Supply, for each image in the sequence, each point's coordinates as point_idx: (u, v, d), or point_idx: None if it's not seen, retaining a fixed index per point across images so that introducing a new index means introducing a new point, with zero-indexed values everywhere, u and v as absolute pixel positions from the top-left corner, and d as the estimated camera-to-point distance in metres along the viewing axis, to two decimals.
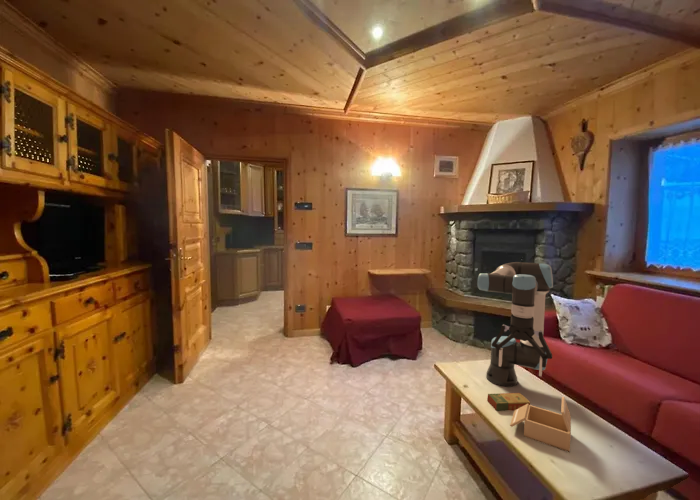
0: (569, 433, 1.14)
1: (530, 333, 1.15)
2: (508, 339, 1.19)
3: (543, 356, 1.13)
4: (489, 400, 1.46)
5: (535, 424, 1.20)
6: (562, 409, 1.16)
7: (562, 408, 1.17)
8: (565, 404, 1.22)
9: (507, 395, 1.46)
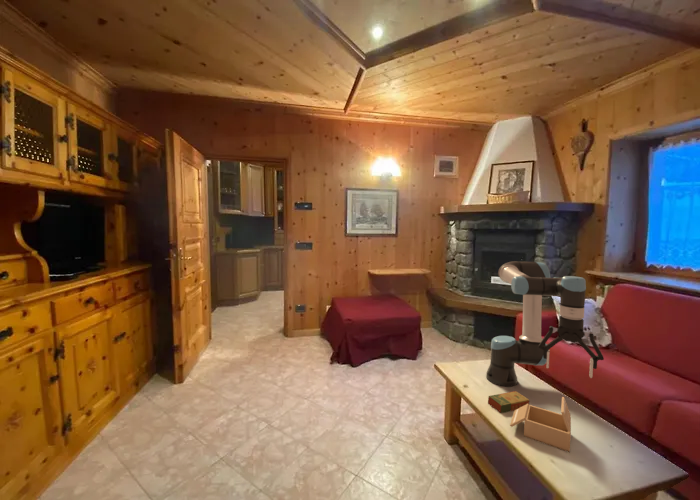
0: (569, 433, 1.14)
1: (580, 335, 1.16)
2: (557, 341, 1.20)
3: (594, 357, 1.14)
4: (491, 402, 1.44)
5: (535, 424, 1.20)
6: (562, 409, 1.16)
7: (562, 408, 1.17)
8: (565, 404, 1.22)
9: (506, 395, 1.46)
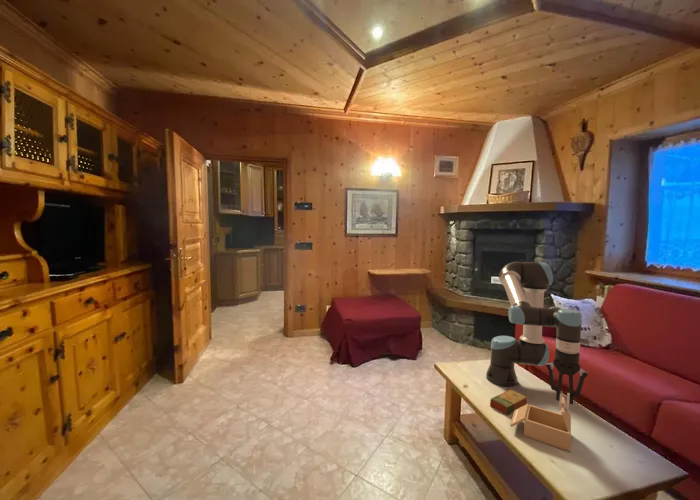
0: (569, 433, 1.14)
1: (575, 368, 1.16)
2: (560, 378, 1.19)
3: (571, 393, 1.17)
4: (494, 405, 1.42)
5: (535, 424, 1.20)
6: (562, 409, 1.16)
7: (562, 408, 1.17)
8: (565, 404, 1.22)
9: (505, 395, 1.46)
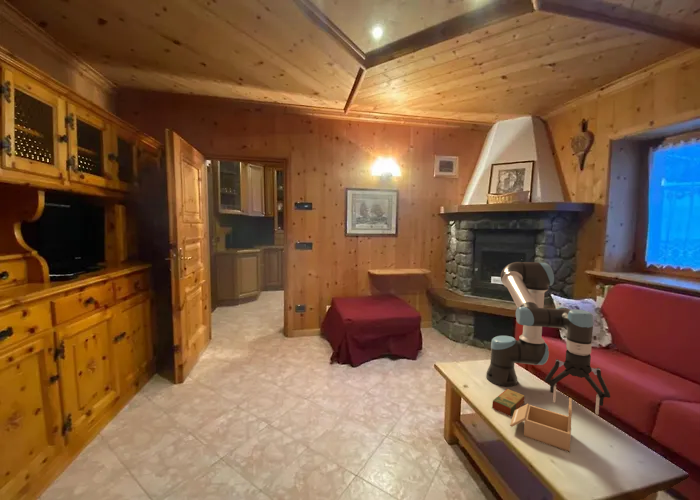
0: (569, 433, 1.14)
1: (587, 370, 1.14)
2: (563, 375, 1.18)
3: (601, 394, 1.12)
4: (496, 407, 1.40)
5: (535, 424, 1.20)
6: (570, 410, 1.15)
7: (570, 409, 1.16)
8: None
9: (505, 395, 1.45)
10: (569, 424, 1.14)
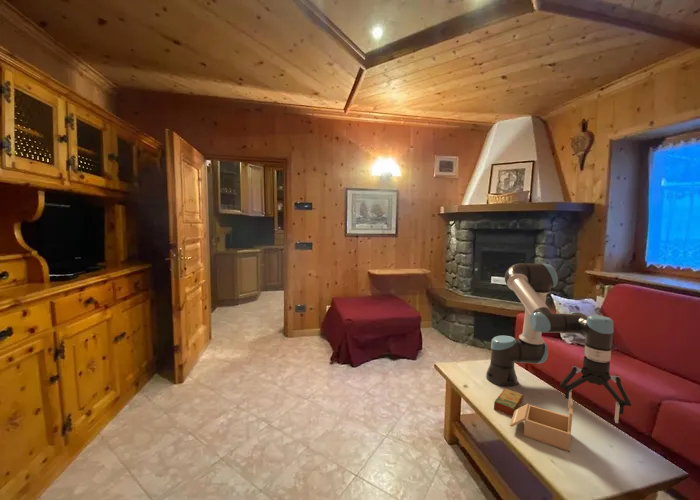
0: (569, 433, 1.14)
1: (606, 378, 1.11)
2: (580, 382, 1.15)
3: (621, 402, 1.09)
4: (498, 408, 1.39)
5: (535, 424, 1.20)
6: (571, 410, 1.15)
7: (571, 409, 1.16)
8: None
9: (505, 395, 1.45)
10: (569, 424, 1.14)
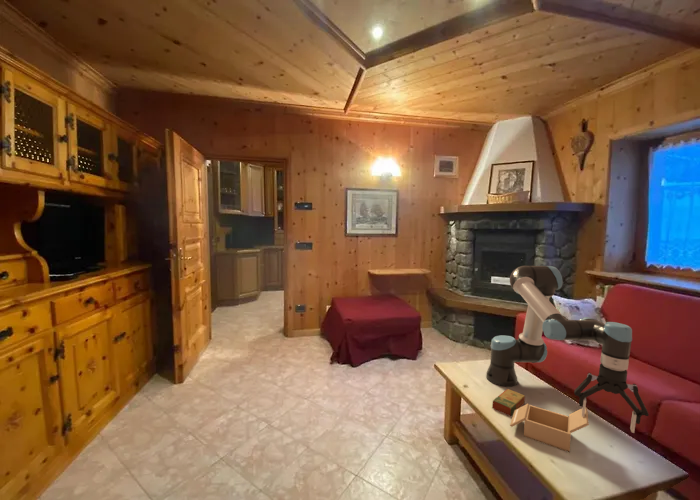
0: (569, 433, 1.14)
1: (623, 386, 1.08)
2: (595, 390, 1.13)
3: (638, 412, 1.06)
4: (496, 407, 1.40)
5: (535, 424, 1.20)
6: (587, 421, 1.12)
7: (587, 420, 1.13)
8: None
9: (505, 395, 1.45)
10: (576, 428, 1.12)
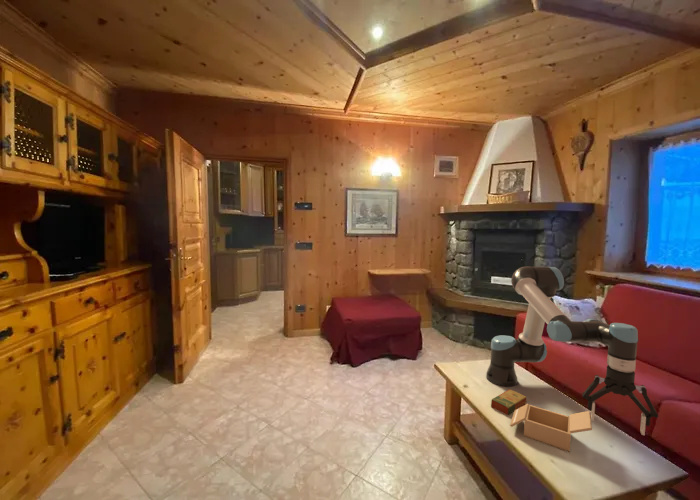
0: (569, 433, 1.14)
1: (631, 388, 1.07)
2: (603, 392, 1.11)
3: (647, 414, 1.05)
4: (495, 406, 1.41)
5: (535, 424, 1.20)
6: (591, 425, 1.12)
7: (591, 424, 1.12)
8: None
9: (505, 395, 1.45)
10: (578, 430, 1.12)
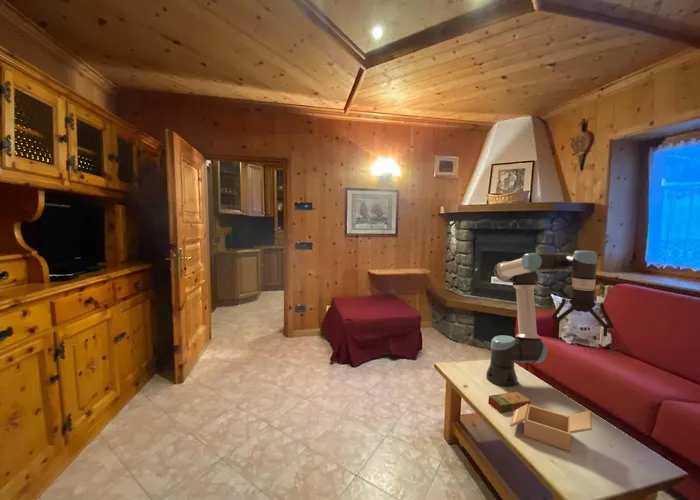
0: (569, 433, 1.14)
1: (591, 305, 1.23)
2: (569, 311, 1.28)
3: (605, 325, 1.21)
4: (491, 402, 1.44)
5: (535, 424, 1.20)
6: (591, 425, 1.12)
7: (591, 424, 1.12)
8: None
9: (507, 395, 1.46)
10: (578, 430, 1.12)
